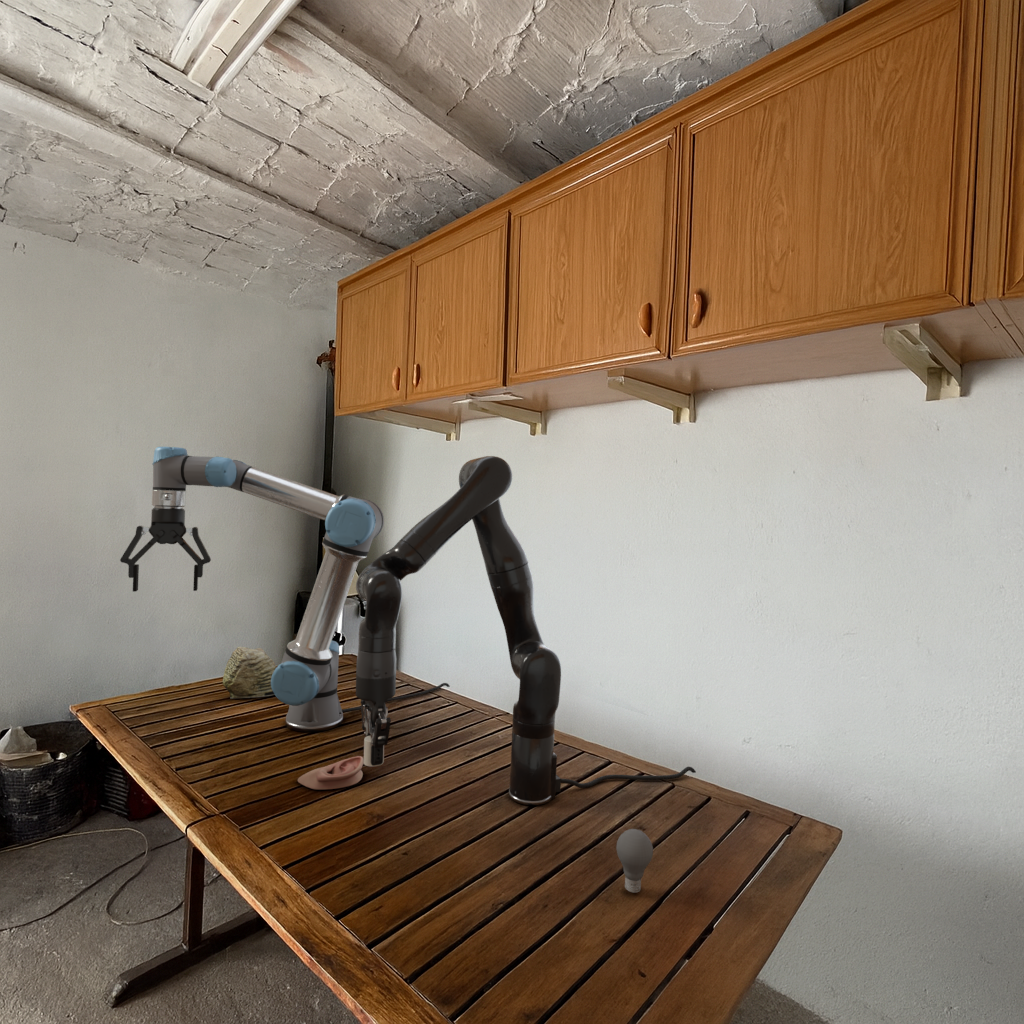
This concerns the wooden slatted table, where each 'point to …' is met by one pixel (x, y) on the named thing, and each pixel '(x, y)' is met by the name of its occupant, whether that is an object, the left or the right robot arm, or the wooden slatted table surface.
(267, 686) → the fossil
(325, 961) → the wooden slatted table surface
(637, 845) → the light bulb
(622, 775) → the right robot arm
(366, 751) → the canister
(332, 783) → the anatomical model
